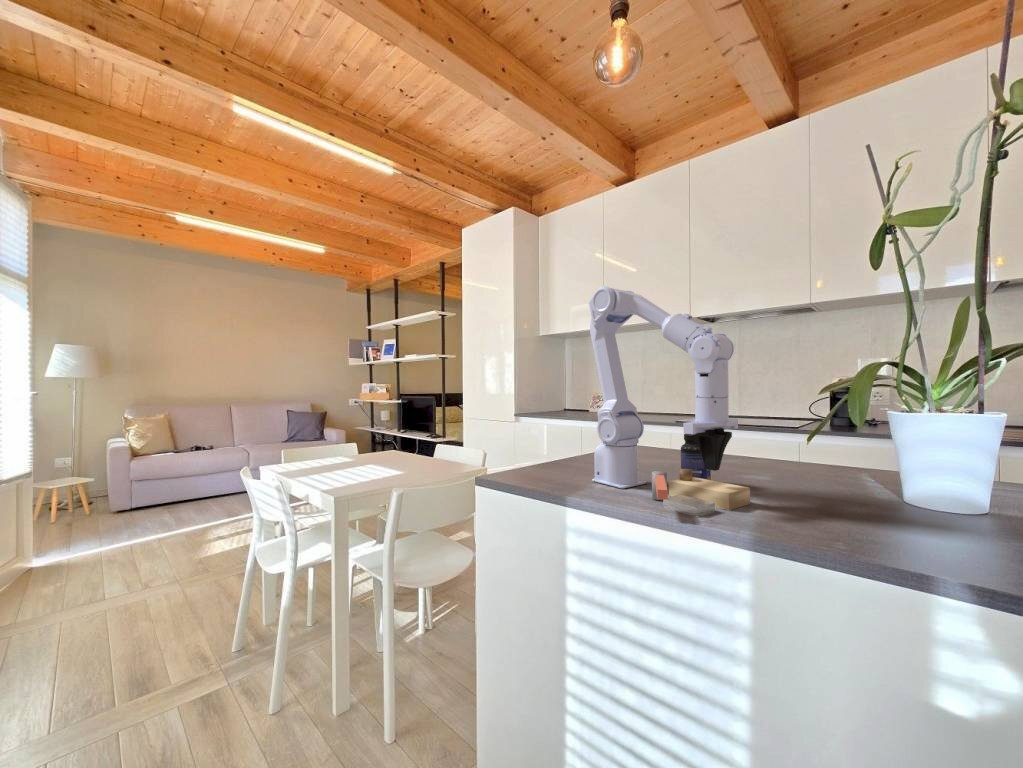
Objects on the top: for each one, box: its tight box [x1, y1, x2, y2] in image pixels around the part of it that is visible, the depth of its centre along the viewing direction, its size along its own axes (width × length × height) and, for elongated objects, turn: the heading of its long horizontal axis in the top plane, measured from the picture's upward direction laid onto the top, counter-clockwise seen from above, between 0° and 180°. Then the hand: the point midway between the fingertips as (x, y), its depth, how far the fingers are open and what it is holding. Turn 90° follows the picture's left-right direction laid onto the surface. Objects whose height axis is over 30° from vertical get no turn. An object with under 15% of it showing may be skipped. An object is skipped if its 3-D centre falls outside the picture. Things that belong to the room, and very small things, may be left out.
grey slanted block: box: [662, 495, 716, 518], centre depth 79 cm, size 7×5×2 cm
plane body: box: [668, 468, 751, 511], centre depth 85 cm, size 12×7×5 cm, turn 33°
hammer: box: [651, 470, 669, 501], centre depth 80 cm, size 14×3×5 cm, turn 164°
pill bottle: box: [680, 433, 712, 480], centre depth 98 cm, size 6×6×11 cm
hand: (712, 469), depth 83 cm, fingers closed
